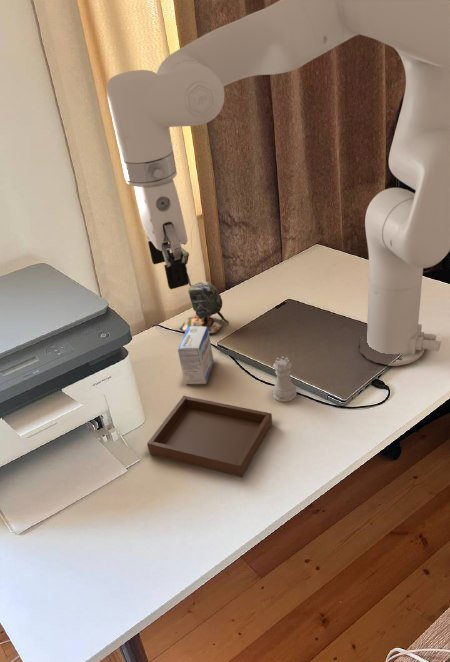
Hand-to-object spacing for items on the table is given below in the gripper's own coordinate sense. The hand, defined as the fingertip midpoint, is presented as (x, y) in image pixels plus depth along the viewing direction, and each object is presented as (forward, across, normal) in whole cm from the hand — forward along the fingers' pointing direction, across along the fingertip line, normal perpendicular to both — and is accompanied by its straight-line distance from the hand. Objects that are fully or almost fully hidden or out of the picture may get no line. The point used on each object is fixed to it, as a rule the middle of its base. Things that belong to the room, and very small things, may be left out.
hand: (170, 273), depth 102 cm
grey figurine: (+28, +24, -10) cm, 38 cm away
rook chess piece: (+28, -6, -16) cm, 32 cm away
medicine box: (+28, +9, -4) cm, 29 cm away
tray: (+27, -11, 0) cm, 29 cm away
